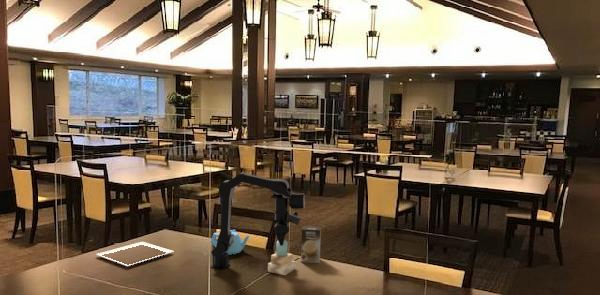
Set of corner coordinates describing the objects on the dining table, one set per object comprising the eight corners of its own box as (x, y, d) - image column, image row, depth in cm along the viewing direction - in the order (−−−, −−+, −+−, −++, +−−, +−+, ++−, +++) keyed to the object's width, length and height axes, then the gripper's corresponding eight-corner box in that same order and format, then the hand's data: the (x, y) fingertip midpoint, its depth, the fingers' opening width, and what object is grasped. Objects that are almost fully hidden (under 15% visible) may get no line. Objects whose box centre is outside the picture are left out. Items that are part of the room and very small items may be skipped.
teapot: (235, 244, 239) (235, 224, 238) (250, 252, 227) (250, 231, 226) (209, 250, 229) (209, 229, 228) (223, 258, 218) (223, 236, 217)
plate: (142, 244, 237) (142, 241, 237) (174, 254, 222) (174, 250, 222) (95, 258, 216) (95, 253, 216) (127, 270, 201) (127, 265, 201)
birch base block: (267, 272, 200) (267, 263, 200) (277, 266, 208) (277, 257, 208) (285, 276, 196) (285, 267, 196) (295, 269, 204) (295, 261, 204)
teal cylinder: (274, 255, 200) (274, 242, 200) (279, 252, 205) (279, 239, 204) (284, 257, 198) (284, 244, 198) (289, 254, 203) (289, 241, 202)
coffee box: (300, 262, 213) (300, 229, 211) (301, 258, 219) (302, 225, 217) (319, 263, 212) (320, 230, 210) (320, 258, 218) (321, 226, 217)
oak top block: (270, 263, 201) (271, 255, 201) (279, 258, 207) (279, 251, 207) (284, 266, 197) (284, 258, 197) (292, 261, 203) (292, 253, 203)
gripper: (300, 212, 191) (300, 248, 192) (298, 203, 209) (298, 236, 211) (274, 212, 190) (274, 248, 191) (274, 203, 209) (274, 236, 210)
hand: (281, 242), depth 201 cm, fingers open, 9 cm apart
